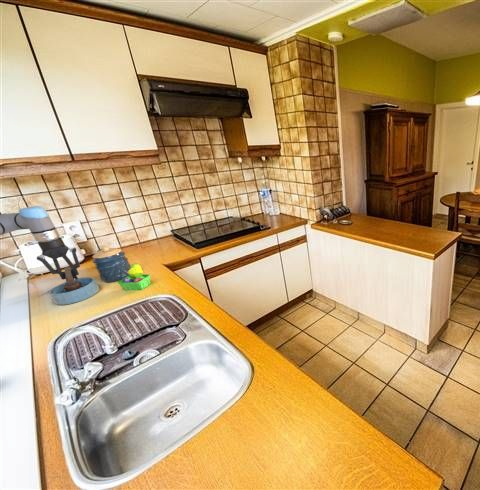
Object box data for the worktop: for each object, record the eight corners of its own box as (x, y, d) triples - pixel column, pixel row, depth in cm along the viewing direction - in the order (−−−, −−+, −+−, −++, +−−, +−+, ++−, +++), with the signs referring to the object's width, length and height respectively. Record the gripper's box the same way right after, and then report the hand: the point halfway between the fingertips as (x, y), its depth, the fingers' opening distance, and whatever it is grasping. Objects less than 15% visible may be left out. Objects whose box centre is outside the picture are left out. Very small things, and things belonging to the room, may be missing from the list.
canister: (129, 268, 152) (116, 240, 145) (137, 274, 145) (123, 244, 138) (99, 278, 142) (83, 249, 135) (106, 285, 135) (90, 254, 128)
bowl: (55, 297, 127) (48, 287, 124) (98, 284, 137) (92, 274, 135) (55, 309, 117) (48, 298, 115) (101, 294, 128) (95, 283, 125)
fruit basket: (120, 291, 129) (110, 271, 124) (135, 282, 137) (126, 262, 132) (142, 291, 128) (133, 271, 124) (156, 281, 136) (148, 262, 132)
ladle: (65, 280, 136) (59, 269, 134) (80, 275, 140) (74, 264, 138) (68, 296, 121) (60, 284, 119) (84, 291, 125) (78, 279, 123)
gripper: (23, 246, 116) (52, 291, 126) (72, 236, 126) (95, 278, 136) (24, 243, 121) (51, 286, 130) (71, 232, 131) (93, 274, 140)
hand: (74, 282), depth 133 cm, fingers closed on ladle, 2 cm apart
